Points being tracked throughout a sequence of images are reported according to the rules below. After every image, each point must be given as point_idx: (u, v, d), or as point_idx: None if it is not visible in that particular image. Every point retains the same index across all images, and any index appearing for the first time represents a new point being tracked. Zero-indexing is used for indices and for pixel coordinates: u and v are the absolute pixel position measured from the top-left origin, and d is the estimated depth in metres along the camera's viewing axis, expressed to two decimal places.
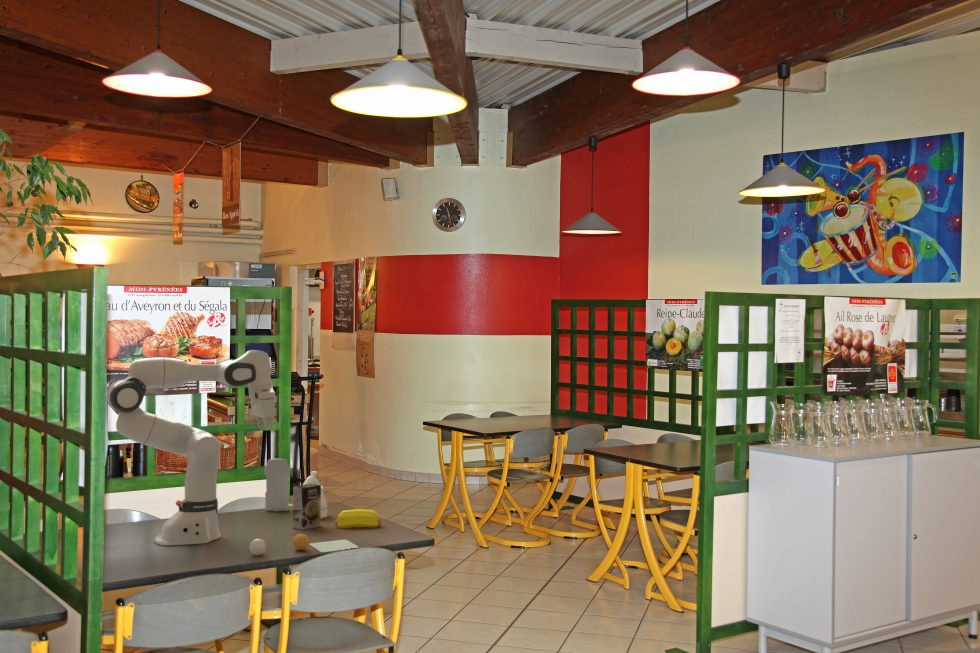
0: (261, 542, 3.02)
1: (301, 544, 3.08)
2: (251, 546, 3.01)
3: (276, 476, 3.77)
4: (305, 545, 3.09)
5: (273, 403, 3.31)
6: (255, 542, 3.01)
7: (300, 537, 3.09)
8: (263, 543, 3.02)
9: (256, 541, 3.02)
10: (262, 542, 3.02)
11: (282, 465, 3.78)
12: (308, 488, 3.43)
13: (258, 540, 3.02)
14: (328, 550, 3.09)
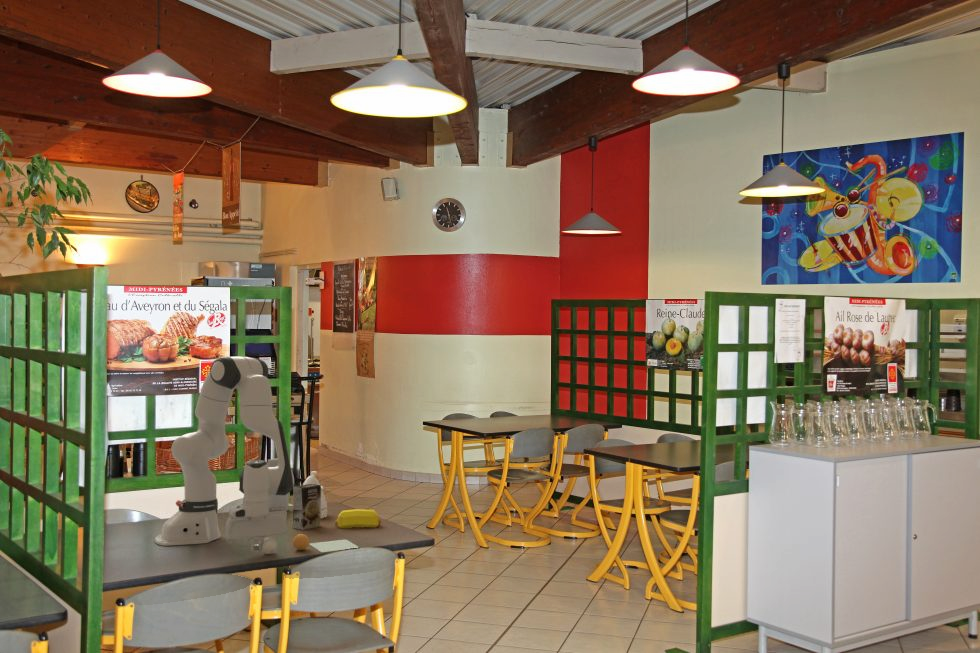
0: (274, 542, 3.04)
1: (301, 544, 3.08)
2: (264, 542, 3.03)
3: None
4: (305, 545, 3.09)
5: (228, 523, 2.97)
6: (269, 540, 3.03)
7: (300, 537, 3.09)
8: (276, 545, 3.04)
9: (271, 540, 3.04)
10: (275, 543, 3.04)
11: None
12: (308, 488, 3.43)
13: (273, 540, 3.04)
14: (328, 550, 3.09)
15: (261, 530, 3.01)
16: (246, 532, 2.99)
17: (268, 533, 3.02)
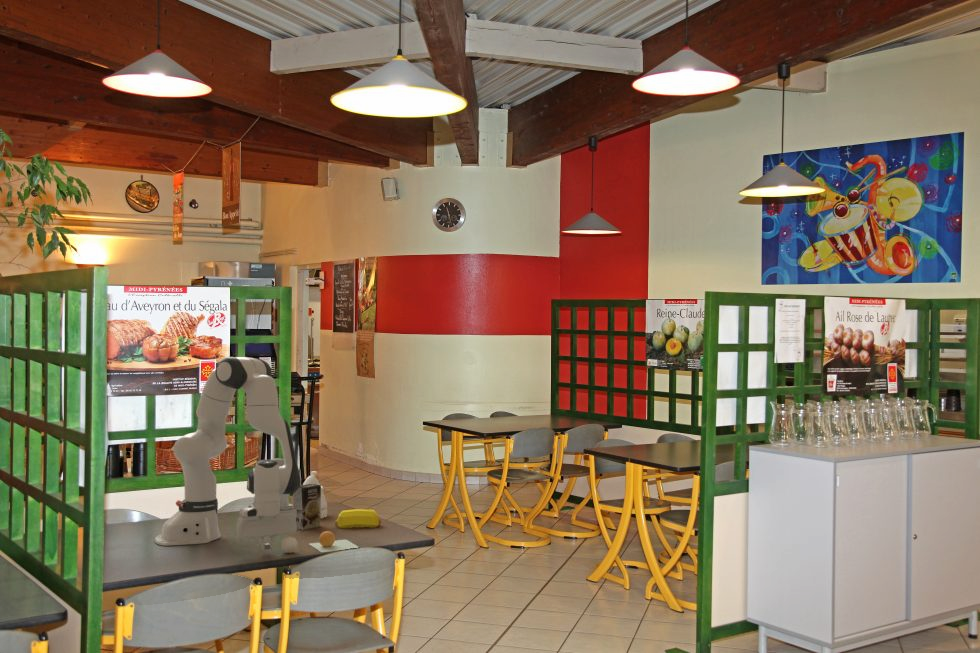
0: None
1: (331, 540, 3.13)
2: (296, 547, 3.06)
3: None
4: (327, 538, 3.13)
5: (240, 523, 2.98)
6: (293, 551, 3.06)
7: (329, 546, 3.14)
8: None
9: None
10: (286, 552, 3.06)
11: (282, 465, 3.78)
12: (308, 488, 3.43)
13: None
14: (328, 550, 3.09)
15: (272, 529, 3.04)
16: (257, 531, 3.01)
17: (278, 532, 3.05)
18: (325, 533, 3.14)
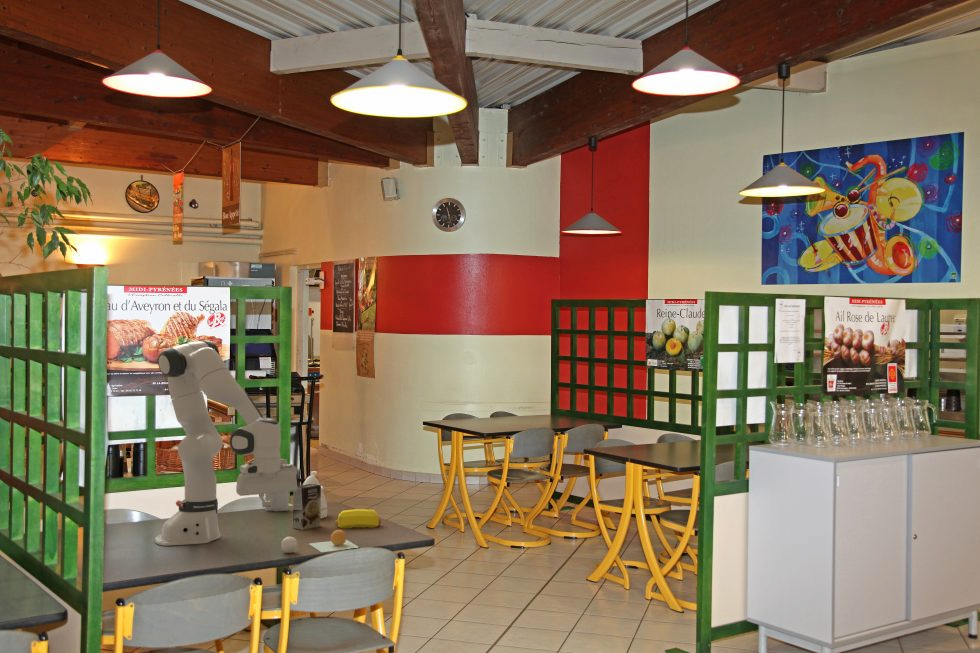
0: None
1: (341, 541, 3.15)
2: (296, 547, 3.06)
3: None
4: (343, 537, 3.16)
5: (240, 479, 2.99)
6: (293, 551, 3.06)
7: (334, 540, 3.15)
8: None
9: None
10: (286, 552, 3.06)
11: None
12: (308, 488, 3.43)
13: None
14: (328, 550, 3.09)
15: (273, 486, 3.04)
16: (258, 488, 3.01)
17: (279, 489, 3.05)
18: (345, 534, 3.18)
